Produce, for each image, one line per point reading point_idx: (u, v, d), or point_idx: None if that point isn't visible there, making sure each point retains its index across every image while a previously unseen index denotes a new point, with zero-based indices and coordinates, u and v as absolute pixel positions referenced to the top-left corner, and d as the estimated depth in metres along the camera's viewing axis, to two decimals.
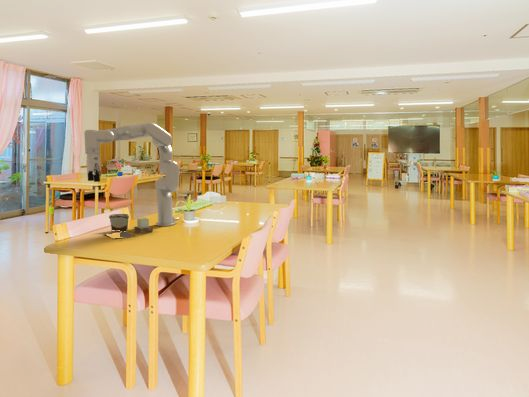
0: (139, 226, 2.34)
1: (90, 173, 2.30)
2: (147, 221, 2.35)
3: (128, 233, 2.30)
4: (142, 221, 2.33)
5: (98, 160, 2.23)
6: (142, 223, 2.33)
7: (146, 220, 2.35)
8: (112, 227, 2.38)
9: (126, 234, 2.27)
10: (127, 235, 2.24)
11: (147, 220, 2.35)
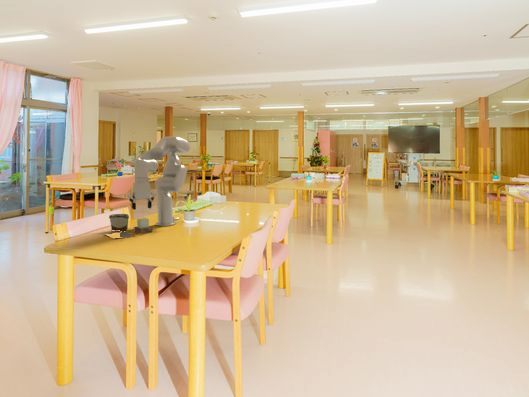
0: (139, 226, 2.34)
1: None
2: (147, 221, 2.35)
3: (128, 233, 2.30)
4: (142, 221, 2.33)
5: None
6: (142, 223, 2.33)
7: (146, 220, 2.35)
8: (112, 227, 2.38)
9: (126, 234, 2.27)
10: (127, 235, 2.24)
11: (147, 220, 2.35)
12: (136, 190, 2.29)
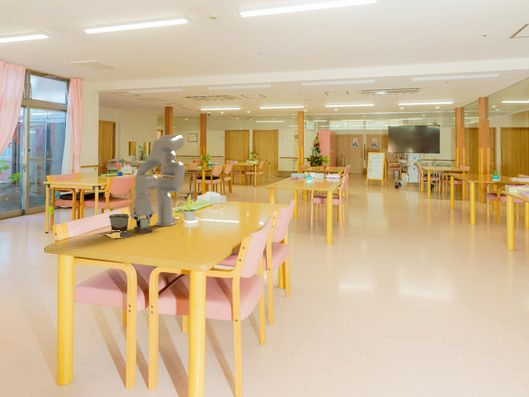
0: None
1: (138, 219, 2.34)
2: (147, 221, 2.35)
3: (128, 233, 2.30)
4: (142, 221, 2.33)
5: None
6: (142, 223, 2.33)
7: (146, 220, 2.35)
8: (112, 227, 2.38)
9: (126, 234, 2.27)
10: (127, 235, 2.24)
11: (147, 220, 2.35)
12: (137, 207, 2.31)
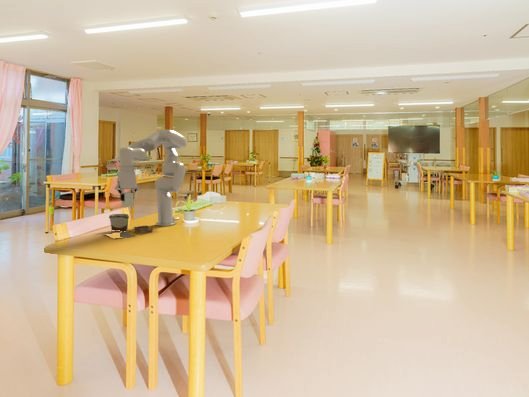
0: None
1: None
2: (132, 195, 2.27)
3: (128, 233, 2.30)
4: (126, 194, 2.25)
5: None
6: (126, 197, 2.25)
7: (131, 194, 2.27)
8: (112, 227, 2.38)
9: (126, 234, 2.27)
10: (127, 235, 2.24)
11: (132, 194, 2.27)
12: (121, 179, 2.22)
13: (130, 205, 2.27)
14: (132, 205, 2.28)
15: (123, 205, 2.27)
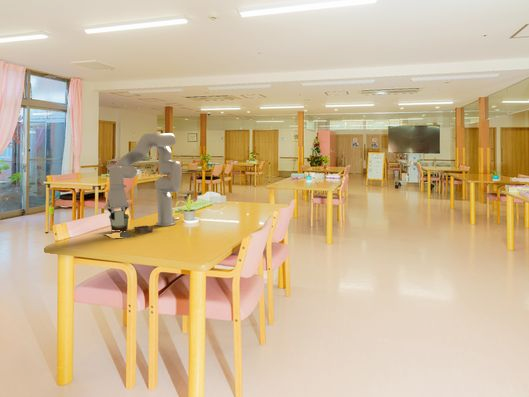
0: None
1: None
2: (122, 213, 2.24)
3: (128, 233, 2.30)
4: (116, 213, 2.22)
5: None
6: (116, 215, 2.22)
7: (121, 212, 2.24)
8: (112, 227, 2.38)
9: (126, 234, 2.27)
10: (127, 235, 2.24)
11: (122, 212, 2.24)
12: (111, 198, 2.20)
13: (121, 223, 2.24)
14: (122, 224, 2.25)
15: (113, 224, 2.24)
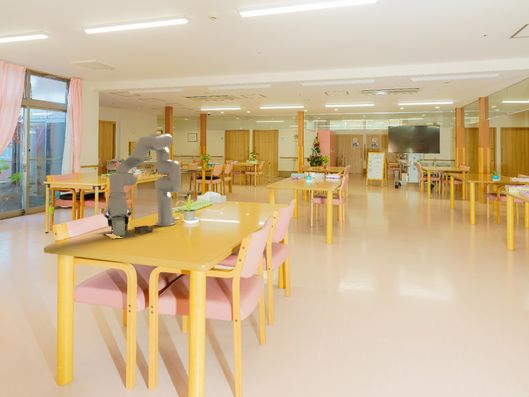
0: (114, 228, 2.24)
1: None
2: (123, 223, 2.25)
3: (128, 233, 2.30)
4: (117, 223, 2.23)
5: None
6: (117, 225, 2.23)
7: (122, 222, 2.25)
8: (112, 227, 2.38)
9: (126, 234, 2.27)
10: (127, 235, 2.24)
11: (123, 222, 2.25)
12: (111, 206, 2.20)
13: (122, 233, 2.25)
14: (123, 233, 2.26)
15: (114, 234, 2.25)
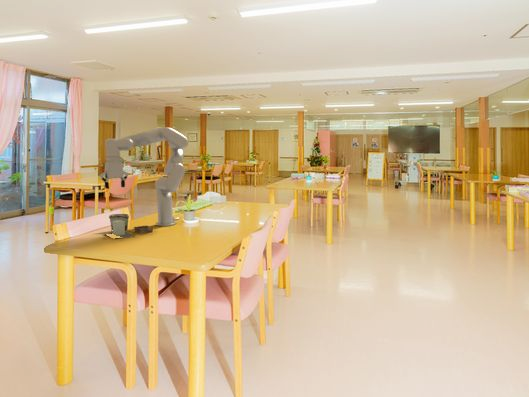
0: (114, 228, 2.24)
1: None
2: (123, 223, 2.25)
3: (128, 233, 2.30)
4: (117, 223, 2.23)
5: None
6: (117, 225, 2.23)
7: (122, 222, 2.25)
8: (112, 227, 2.38)
9: (126, 234, 2.27)
10: (127, 235, 2.24)
11: (123, 222, 2.25)
12: (108, 169, 2.30)
13: (122, 233, 2.25)
14: (123, 233, 2.26)
15: (114, 234, 2.25)
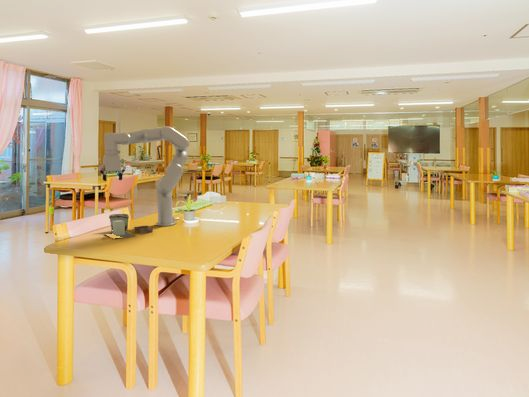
0: (114, 228, 2.24)
1: None
2: (123, 223, 2.25)
3: (128, 233, 2.30)
4: (117, 223, 2.23)
5: None
6: (117, 225, 2.23)
7: (122, 222, 2.25)
8: (112, 227, 2.38)
9: (126, 234, 2.27)
10: (127, 235, 2.24)
11: (123, 222, 2.25)
12: (106, 162, 2.39)
13: (122, 233, 2.25)
14: (123, 233, 2.26)
15: (114, 234, 2.25)
